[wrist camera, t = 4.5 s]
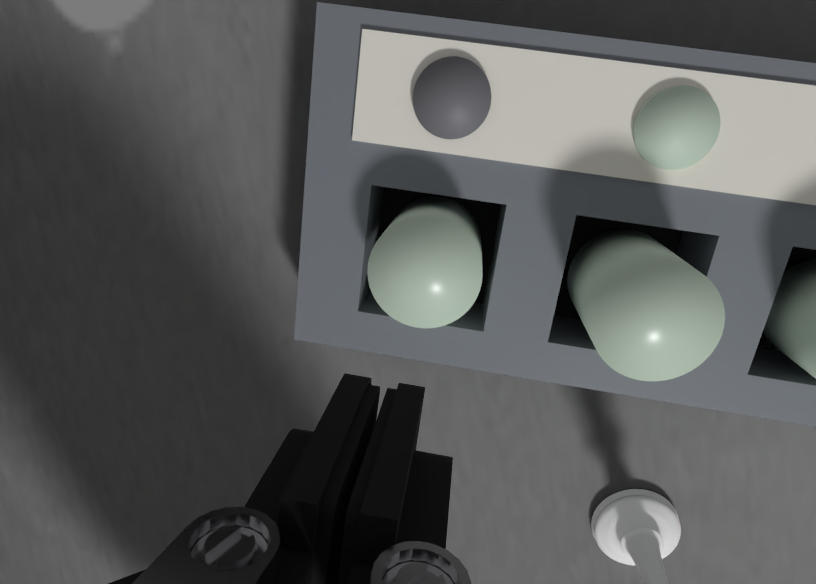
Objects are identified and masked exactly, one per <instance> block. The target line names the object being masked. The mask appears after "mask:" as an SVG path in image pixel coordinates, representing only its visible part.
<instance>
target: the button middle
mask: <svg viewBox="0 0 816 584" xmlns="http://www.w3.org/2000/svg"><path fill="white" fill-rule="evenodd" d="M567 286H568V292H569V295H570V298H571V300H572V302H573V304H574V306H575V308H576V310H577V312H578V314H579V316H580V318H581V320H582V322H583V324H584V326H585V328H586V330H587V332H588V334H589V336H590V338H591V340H592V342H593V344H594V346H595V348H596V350H597V352H598V354H599V355H600V357H601V358H602V359H603V360H604V362H605V363H606V364H607V365H608V366H610V367H611V368H612V369H613V370H615V371H616V372H618V373H620V374H622V375H624V376H626V377H629V378H632V379H636V380H640V381H664V380H669V379H673V378H676V377H679V376H682V375H684V374H686V373H688V372H690V371H692V370H693V369H695V368H697V367H698V366H699V365H700V364H702V363H703V362H704V361H705V360H706V359H707V358H708V357H709V356H710V355H711V353H712V352H713V351H714V349H715V348H716V346H717V345H718V343H719V341H720V338H721V336H722V333H723V329H724V324H725V309H724V304H723V301H722V298H721V295H720V293H719V292H718V290H717V288H716V287H715V285H714V284H713V283H712V282H711V281H710V280H709V279H708V278H707V277H706V276H705V275H704V274H702V273H701V272H699V271H698V270H697V269H695V268H694V267H692V266H691V265H690V264H688V263H687V262H685V261H684V260H683V259H681V258H680V257H679V256H677V255H676V254H674V253H673V252H672V251H670V250H669V249H667V248H666V247H665V246H663V245H662V244H660V243H659V242H658V241H656V240H655V239H653V238H652V237H651V236H649V235H647V234H645V233H642V232H639V231H635V230H629V229H617V230H611V231H608V232H604V233H602V234H599V235H597V236H595V237H594V238H592V239H590V240H589V241H588V242H586V243H585V244H584V245H583V246H582V247H581V248H580V249H579V251H578V252H577V253H576V255H575V256H574V258H573V260H572V262H571V264H570V267H569V270H568V276H567Z"/></svg>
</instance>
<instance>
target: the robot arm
mask: <svg viewBox="0 0 816 584" xmlns="http://www.w3.org/2000/svg"><path fill="white" fill-rule="evenodd" d="M424 392H425V387H420V386H414V385H409V384H403V383H399V384H398V388H397V390H396V389H391V388H387V391H386V394H385V397H384V400H383V403H382V406H381V409H380V412H379V415H378V418H377V410H378V402H379V394H380V387H379V386H373V385H371V378H368V377H362V376H356V375H351V374H344V375H343V377H342V379H341V381H340V383H339V385H338V387H337V389H336V391H335V393H334V394H333V396H332V398H331V400H330V402H329V404H328V406H327V408H326V410H325V412H324V414H323V416H322V417H321V419H320V421H319V423H318V425H317V427H316V429H315V431H314V432H310V431H305V430H299V429H291V431H290V432H289V433H288V435H287V437H286V438H285V440H284V442H283V443H282V445H281V447H280V448H279V450H278V452H277V453H276V455H275V457H274V458H273V460H272V462H271V463H270V465H269V467H268V468H267V470H266V472H265V473H264V475H263V477H262V478H261V480H260V482H259V483H258V485H257V487H256V488H255V490H254V492H253V493H252V495H251V497H250V498H249V500H248V502H247V503H246V505H245V507H226V508H222V509H217V510H213V511H210V512H208V513H206V514H204V515H202V516H200V517H198V518H197V519H195V520H194V521H193V522H192V523H190V524H189V525H188V526H187V527H186V528H185V529H184V530H183V531H182V532H181V533H180V534H179V535H178V536H177V537H176V538H175V539H174V540H173V541H172V543H171V544H170V545H169V546H168V547H167V548H166V549H165V550H164V551H163V552H162V553H161V554H160V555H159V556H158V557H157V558H156V559H155V560H154V561H153V562H152V563H151V565H150V566H149V567H148V568H147V569H146V570H143V571H141V572H138V573H135V574H133V575H130V576H127V577H125V578H122V579H119V580H117V581H114V582H112V583H109V584H472V583H471V580H470V577H469V574H468V571H467V569H466V568H465V567H464V565H463V564H462V563H461V561H460V560H459V559H458V558H457V557H455V556H454V555H453V554H452V553H450V552H449V551H448V550H446V536H447V524H448V511H449V499H450V486H451V474H452V460H453V458H452V457H448V456H443V455H437V454H432V453H426V452H421V451H416V444H417V438H418V431H419V425H420V418H421V412H422V405H423V399H424ZM376 418H377V421H376Z"/></svg>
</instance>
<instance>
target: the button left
mask: <svg viewBox="0 0 816 584" xmlns="http://www.w3.org/2000/svg"><path fill="white" fill-rule="evenodd" d="M367 274H368V282H369V286H370V289H371V292H372V294H373V296H374V298H375V300H376V302H377V303H378V304H379V306H380V307H381V308H382V309H383V310H384V311H385V312H386V313H387V314H388V315H389V316H390V317H392V318H393V319H395V320H397V321H399V322H401V323H403V324H405V325H408V326H412V327H416V328H437V327H441V326H445V325H447V324H450V323H452V322H454V321H456V320H457V319H459V318H460V317H462V316H463V315H464V314H465V313H466V312H467V311H468V310H469V309H470V308H471V307H472V305H473V304H474V302H475V300H476V299H477V297H478V294H479V292H480V289H481V285H482V277H483V274H482V240H481V232H480V229H479V226H478V224H477V221H476V220H475V218H474V216H473V215H472V214H471V213H470V211H469V210H468V209H467V208H465V207H464V206H463V205H462V204H460V203H458V202H457V201H455V200H452V199H449V198H446V197H441V196H428V197H423V198H420V199H417V200H415V201H413V202H411V203H409V204H408V205H406V206H405V207H404V208H403V209H402V210H401V211H400V212H399V213H398V215H397V216H396V217H395V218H394V220H393V221H392V222H391V223H390V225H389V226H388V227H387V229H386V230H385V231H384V232H383V234H382V235H381V236H380V238H379V239H378V240H377V242H376V243H375V245H374V247H373V249H372V251H371V254H370V257H369V261H368V270H367Z"/></svg>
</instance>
